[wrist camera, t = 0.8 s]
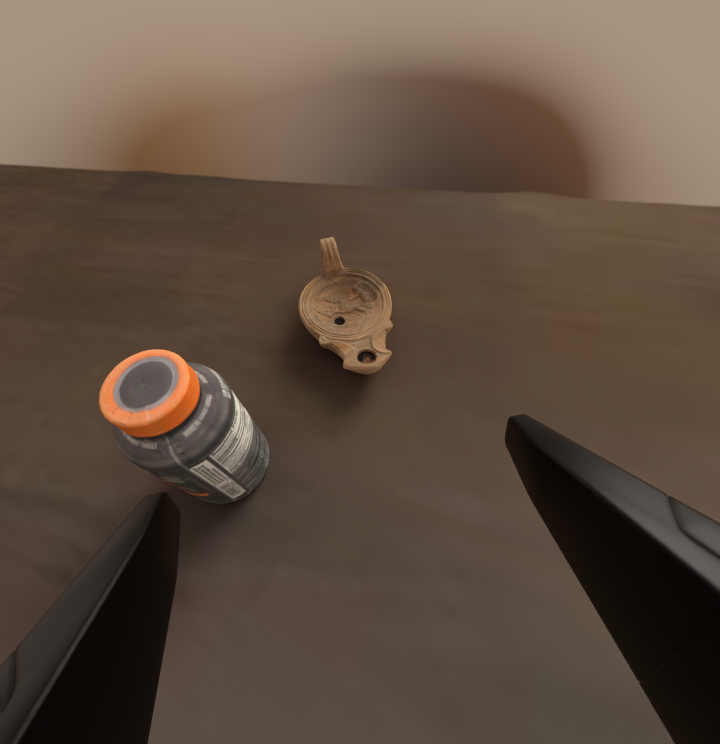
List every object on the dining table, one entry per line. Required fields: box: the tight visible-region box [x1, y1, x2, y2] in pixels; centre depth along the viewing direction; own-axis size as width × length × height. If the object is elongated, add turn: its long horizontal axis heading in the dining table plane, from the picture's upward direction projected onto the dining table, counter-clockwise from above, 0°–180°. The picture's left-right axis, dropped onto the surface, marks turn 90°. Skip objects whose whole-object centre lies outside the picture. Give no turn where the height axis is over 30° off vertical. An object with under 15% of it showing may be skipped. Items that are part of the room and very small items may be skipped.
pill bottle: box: [99, 350, 270, 504], centre depth 21 cm, size 6×6×11 cm
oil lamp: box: [298, 237, 393, 374], centre depth 30 cm, size 13×8×5 cm, turn 13°
